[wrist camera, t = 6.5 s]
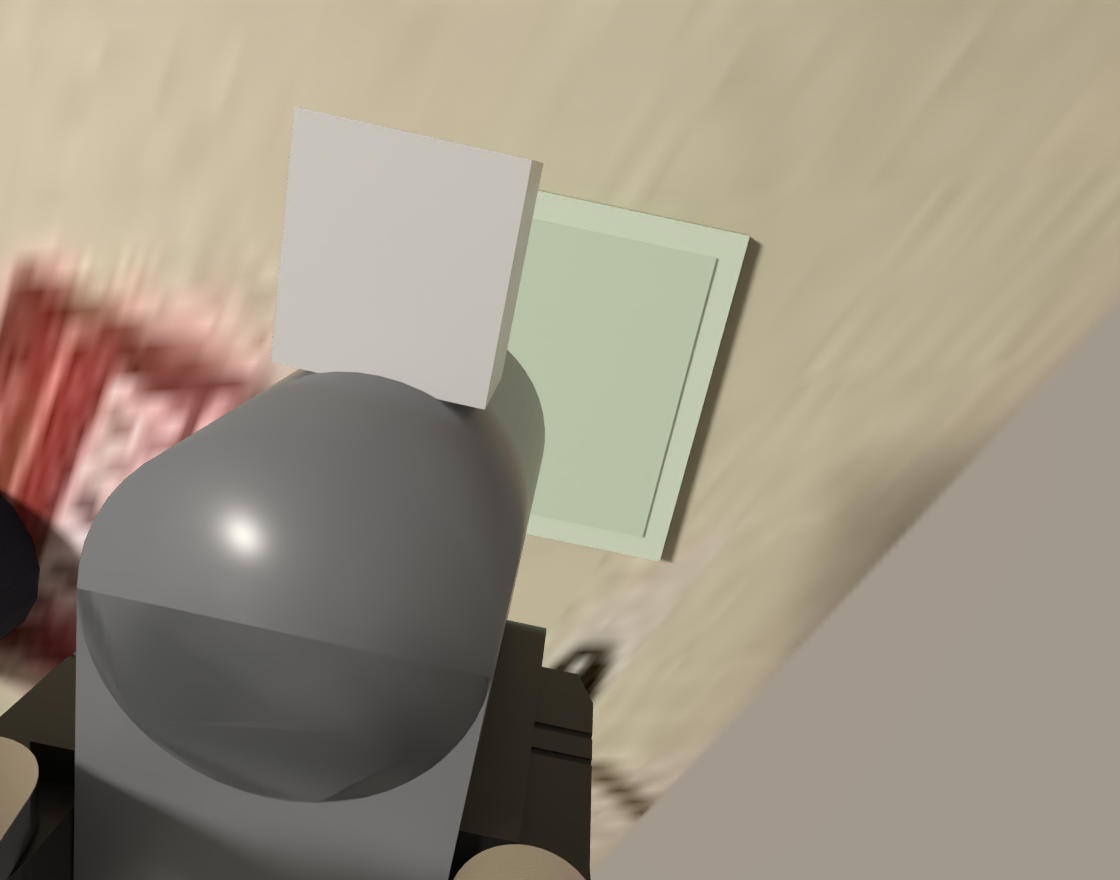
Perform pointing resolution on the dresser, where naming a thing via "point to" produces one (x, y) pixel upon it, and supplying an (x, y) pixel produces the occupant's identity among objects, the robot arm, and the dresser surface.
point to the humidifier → (15, 570)
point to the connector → (323, 545)
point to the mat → (618, 363)
